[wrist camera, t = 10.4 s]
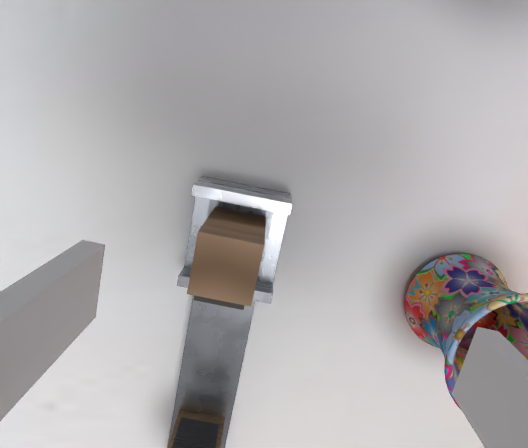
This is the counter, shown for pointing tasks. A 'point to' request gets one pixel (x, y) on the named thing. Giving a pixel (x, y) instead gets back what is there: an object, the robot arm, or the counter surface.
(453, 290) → the mug
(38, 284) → the robot arm
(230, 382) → the rail
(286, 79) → the counter surface
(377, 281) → the counter surface
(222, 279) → the block
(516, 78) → the counter surface
